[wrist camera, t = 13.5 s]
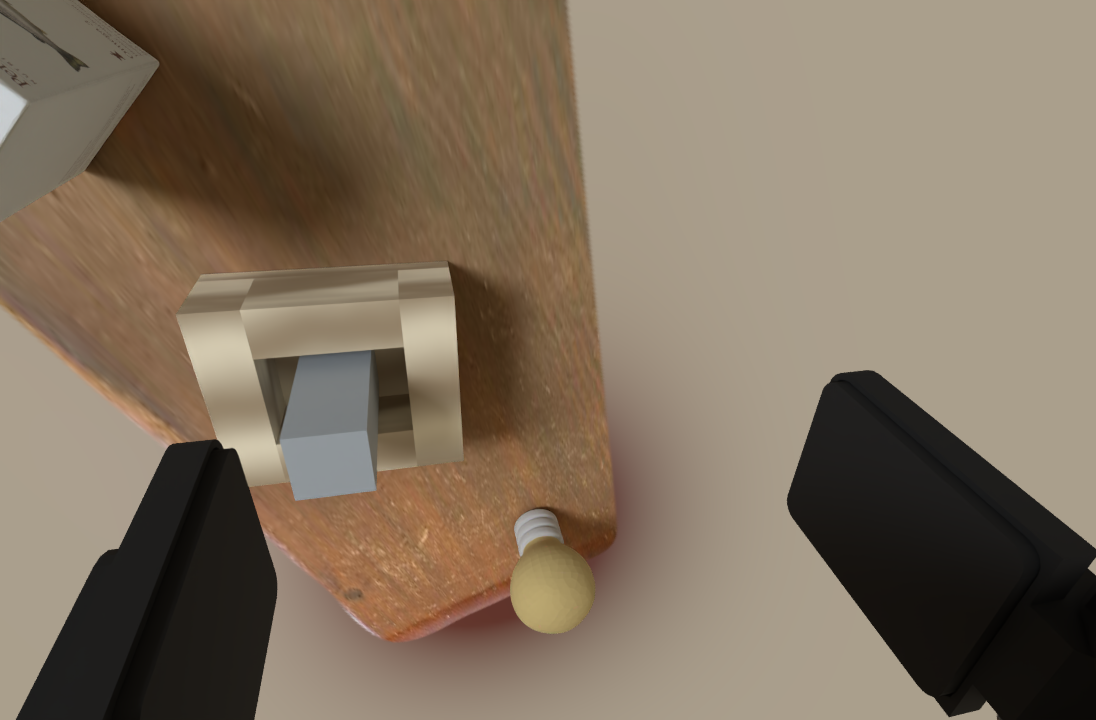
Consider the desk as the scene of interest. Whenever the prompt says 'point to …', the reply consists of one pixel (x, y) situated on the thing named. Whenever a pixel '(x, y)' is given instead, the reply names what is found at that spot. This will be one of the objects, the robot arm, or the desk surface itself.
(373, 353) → the grey rectangular prism
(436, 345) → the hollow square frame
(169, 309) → the desk surface
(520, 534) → the light bulb
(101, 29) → the supplement box
